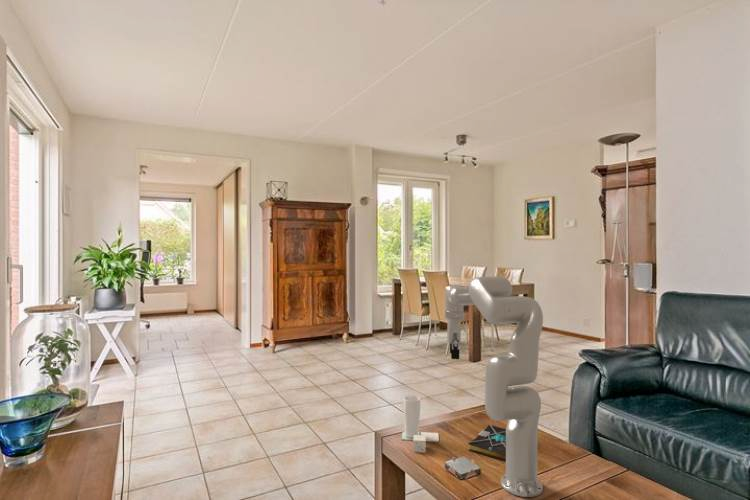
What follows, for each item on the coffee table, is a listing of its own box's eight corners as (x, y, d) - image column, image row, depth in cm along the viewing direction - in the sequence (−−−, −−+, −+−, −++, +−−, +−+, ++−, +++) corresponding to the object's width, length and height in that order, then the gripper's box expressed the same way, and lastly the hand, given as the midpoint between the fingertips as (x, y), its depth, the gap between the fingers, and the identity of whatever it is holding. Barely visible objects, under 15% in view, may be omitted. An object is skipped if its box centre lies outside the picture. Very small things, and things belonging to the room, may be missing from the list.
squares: (438, 441, 167) (438, 440, 167) (401, 439, 169) (401, 438, 169) (438, 433, 174) (438, 432, 174) (402, 432, 176) (402, 431, 176)
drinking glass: (401, 438, 169) (402, 400, 169) (404, 431, 176) (405, 394, 176) (418, 440, 168) (419, 401, 168) (421, 433, 174) (421, 396, 174)
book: (512, 465, 150) (512, 451, 150) (467, 452, 160) (467, 438, 160) (530, 442, 168) (530, 429, 168) (488, 431, 177) (488, 419, 177)
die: (425, 453, 159) (425, 440, 159) (413, 452, 159) (413, 440, 159) (425, 447, 163) (425, 435, 163) (413, 446, 164) (413, 434, 164)
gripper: (444, 311, 189) (444, 350, 189) (446, 318, 171) (446, 361, 172) (461, 312, 188) (461, 351, 188) (465, 318, 171) (465, 361, 171)
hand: (454, 355), depth 180 cm, fingers open, 9 cm apart
